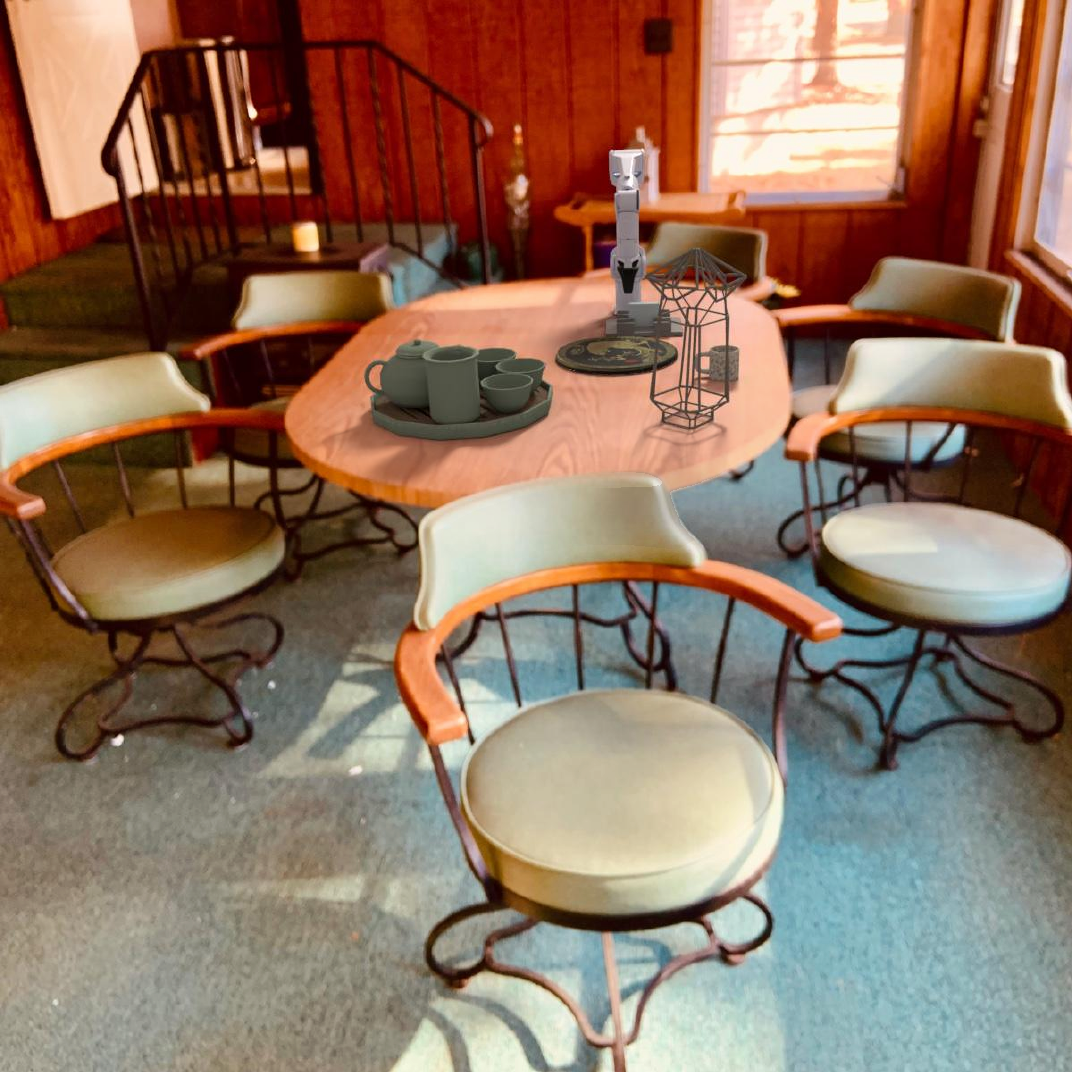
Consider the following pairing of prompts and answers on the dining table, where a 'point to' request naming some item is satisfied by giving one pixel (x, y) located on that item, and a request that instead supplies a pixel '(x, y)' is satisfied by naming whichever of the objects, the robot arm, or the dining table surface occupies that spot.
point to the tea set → (457, 391)
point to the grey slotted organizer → (626, 326)
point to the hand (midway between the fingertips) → (628, 289)
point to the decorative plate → (615, 355)
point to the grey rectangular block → (643, 312)
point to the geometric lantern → (682, 267)
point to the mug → (720, 363)
